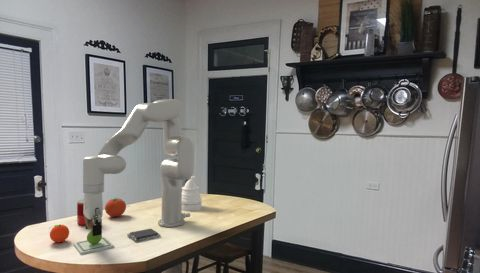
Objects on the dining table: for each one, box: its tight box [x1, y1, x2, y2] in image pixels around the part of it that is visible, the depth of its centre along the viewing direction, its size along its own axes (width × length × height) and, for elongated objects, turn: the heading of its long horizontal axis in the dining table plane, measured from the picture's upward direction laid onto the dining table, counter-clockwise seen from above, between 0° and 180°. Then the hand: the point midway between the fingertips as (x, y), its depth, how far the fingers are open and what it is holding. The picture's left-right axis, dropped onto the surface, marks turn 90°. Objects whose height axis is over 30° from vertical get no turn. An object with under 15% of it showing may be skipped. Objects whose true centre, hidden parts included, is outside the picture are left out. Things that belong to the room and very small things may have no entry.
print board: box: [73, 236, 115, 256], centre depth 127 cm, size 12×12×1 cm
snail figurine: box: [84, 214, 103, 244], centre depth 127 cm, size 5×6×12 cm
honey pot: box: [182, 175, 203, 212], centre depth 187 cm, size 13×13×18 cm
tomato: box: [104, 197, 127, 218], centre depth 168 cm, size 10×10×10 cm
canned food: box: [76, 198, 86, 227], centre depth 155 cm, size 8×8×11 cm
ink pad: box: [126, 228, 161, 243], centre depth 139 cm, size 11×9×2 cm
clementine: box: [49, 224, 70, 243], centre depth 131 cm, size 8×7×7 cm
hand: (93, 231), depth 127 cm, fingers open, 9 cm apart
